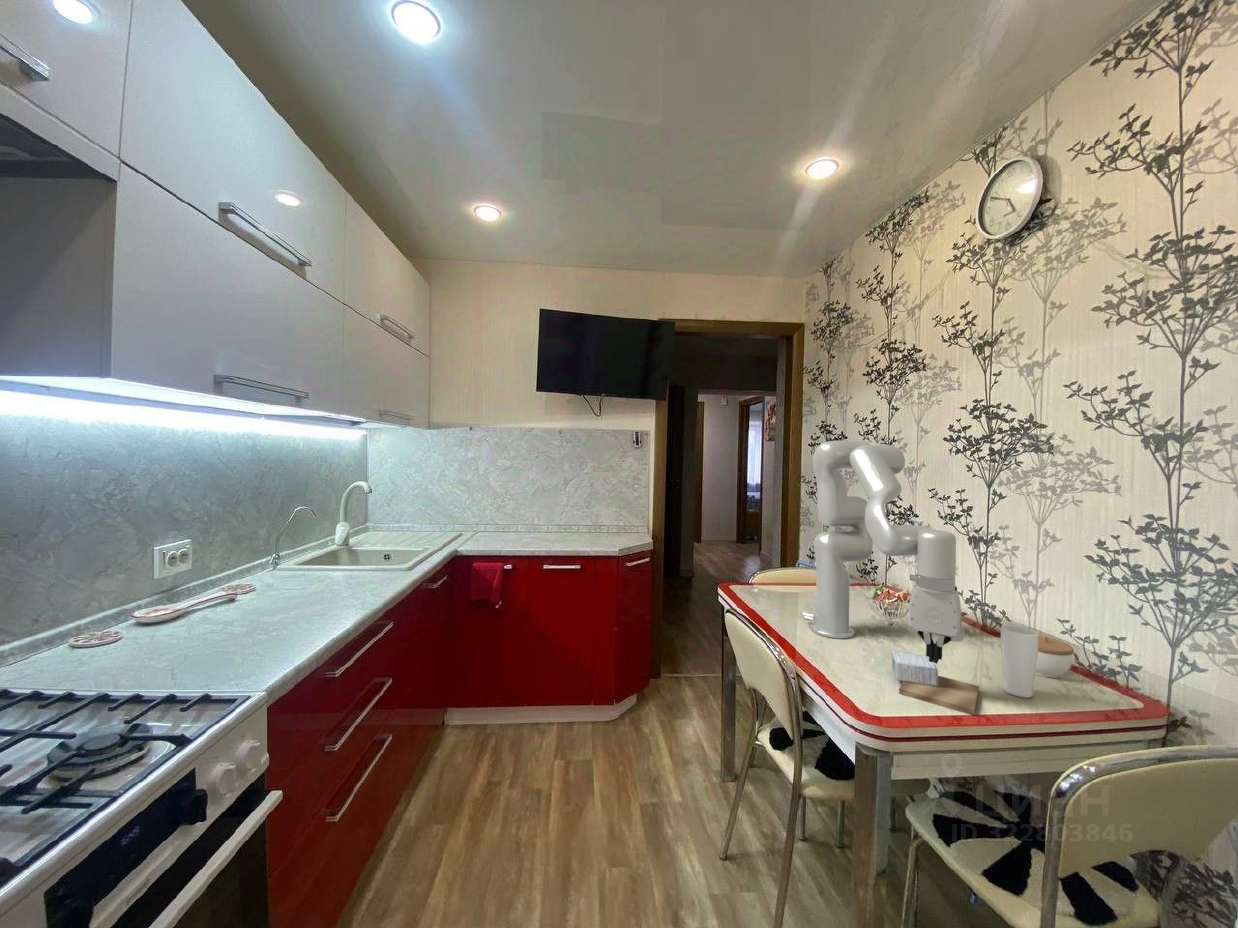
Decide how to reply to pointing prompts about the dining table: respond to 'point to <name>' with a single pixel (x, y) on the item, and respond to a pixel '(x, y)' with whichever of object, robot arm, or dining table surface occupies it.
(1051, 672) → the lidded jar
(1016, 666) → the white tall cup
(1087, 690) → the dining table surface
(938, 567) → the robot arm
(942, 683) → the walnut board
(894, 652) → the medicine box
